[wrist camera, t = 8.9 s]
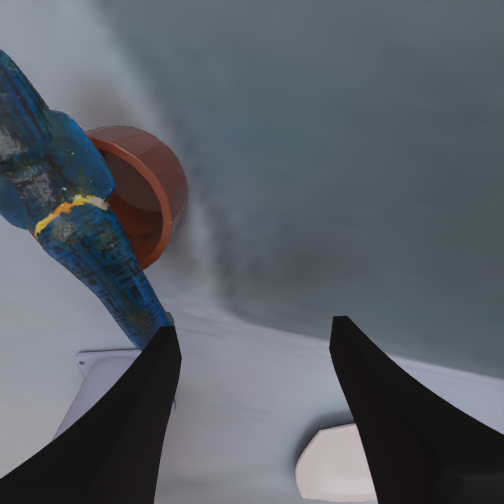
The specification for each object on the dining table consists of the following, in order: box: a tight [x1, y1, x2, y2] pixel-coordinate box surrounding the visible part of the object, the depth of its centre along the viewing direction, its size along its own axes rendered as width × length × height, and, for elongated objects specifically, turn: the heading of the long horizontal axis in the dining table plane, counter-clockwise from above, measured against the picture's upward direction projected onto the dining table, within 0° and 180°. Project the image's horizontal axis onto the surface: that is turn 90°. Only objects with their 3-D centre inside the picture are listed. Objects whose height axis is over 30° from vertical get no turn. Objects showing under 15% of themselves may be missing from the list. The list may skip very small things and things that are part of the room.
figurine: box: [0, 49, 174, 351], centre depth 14 cm, size 5×4×15 cm
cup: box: [29, 126, 188, 270], centre depth 17 cm, size 8×8×6 cm
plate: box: [295, 423, 377, 502], centre depth 37 cm, size 19×19×2 cm
